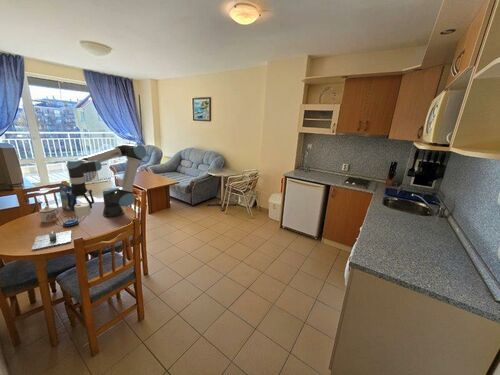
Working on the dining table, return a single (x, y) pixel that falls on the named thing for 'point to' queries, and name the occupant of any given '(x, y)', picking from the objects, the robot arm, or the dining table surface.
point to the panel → (52, 240)
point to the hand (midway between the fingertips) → (83, 213)
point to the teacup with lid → (48, 214)
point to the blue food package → (63, 194)
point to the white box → (82, 209)
